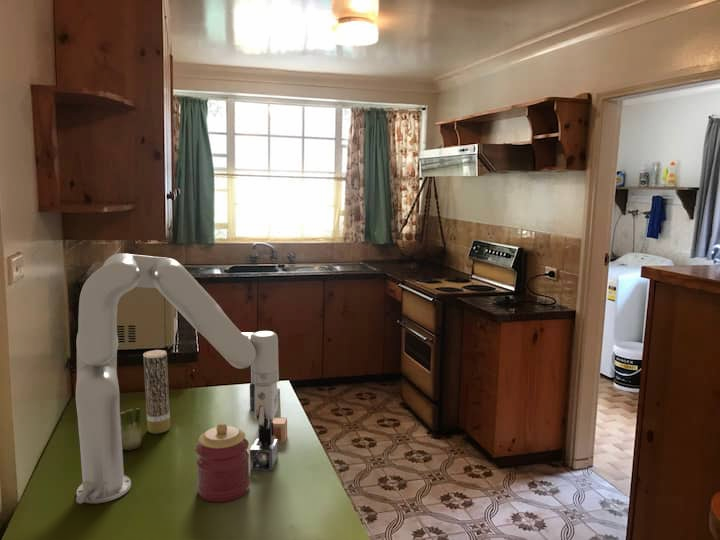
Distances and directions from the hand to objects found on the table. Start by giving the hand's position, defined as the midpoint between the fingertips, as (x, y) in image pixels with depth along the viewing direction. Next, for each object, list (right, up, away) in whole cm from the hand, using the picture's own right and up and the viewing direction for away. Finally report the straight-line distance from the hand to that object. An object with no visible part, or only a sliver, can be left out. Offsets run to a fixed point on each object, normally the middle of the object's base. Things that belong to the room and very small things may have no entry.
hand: (266, 438), depth 162 cm
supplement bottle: (-8, -1, +37) cm, 38 cm away
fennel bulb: (-40, -5, +6) cm, 41 cm away
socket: (0, -4, +13) cm, 14 cm away
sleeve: (0, -6, -2) cm, 7 cm away
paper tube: (-37, -3, +19) cm, 42 cm away
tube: (0, -6, +1) cm, 6 cm away
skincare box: (-3, -3, +23) cm, 23 cm away
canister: (-8, -9, -16) cm, 20 cm away
